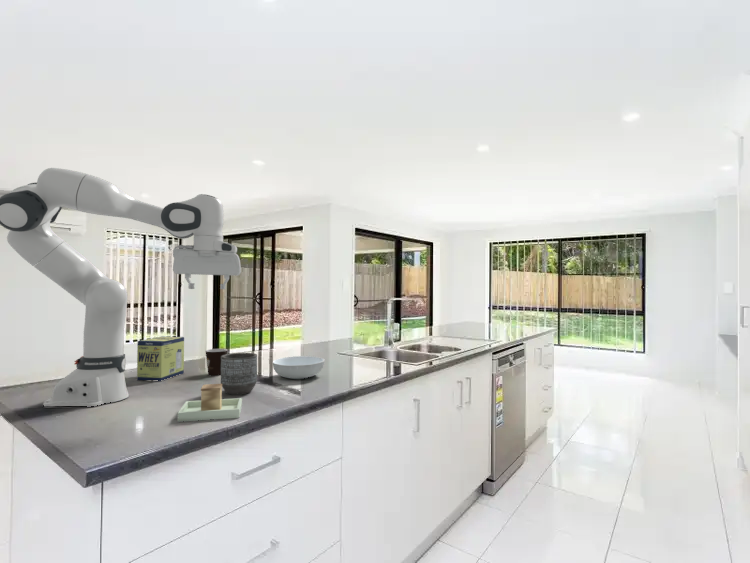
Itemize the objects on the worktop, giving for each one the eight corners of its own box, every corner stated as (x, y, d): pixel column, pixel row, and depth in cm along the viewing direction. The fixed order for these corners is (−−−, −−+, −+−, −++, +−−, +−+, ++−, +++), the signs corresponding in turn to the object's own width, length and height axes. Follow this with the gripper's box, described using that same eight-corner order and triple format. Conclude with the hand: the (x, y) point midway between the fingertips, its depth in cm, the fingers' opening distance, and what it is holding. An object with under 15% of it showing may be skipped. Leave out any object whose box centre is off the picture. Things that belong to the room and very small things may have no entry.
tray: (177, 421, 113) (177, 413, 113) (186, 409, 125) (186, 401, 125) (239, 417, 117) (239, 409, 117) (241, 405, 129) (242, 398, 129)
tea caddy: (200, 413, 118) (200, 388, 118) (203, 408, 123) (203, 384, 123) (220, 412, 119) (220, 387, 119) (222, 407, 124) (222, 383, 124)
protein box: (136, 380, 162) (136, 340, 162) (161, 372, 177) (162, 336, 178) (161, 381, 161) (161, 341, 161) (184, 373, 176) (184, 336, 176)
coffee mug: (206, 372, 177) (206, 349, 178) (227, 371, 180) (227, 348, 180) (203, 378, 166) (203, 353, 167) (226, 377, 169) (226, 352, 169)
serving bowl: (280, 371, 182) (280, 355, 182) (327, 372, 181) (328, 356, 181) (265, 382, 161) (265, 364, 161) (319, 383, 160) (319, 365, 160)
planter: (261, 387, 152) (261, 352, 152) (251, 396, 140) (251, 358, 140) (227, 387, 152) (228, 352, 152) (214, 396, 140) (215, 358, 140)
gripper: (170, 243, 128) (169, 288, 128) (240, 246, 133) (239, 289, 133) (175, 245, 135) (174, 288, 134) (241, 248, 140) (240, 289, 139)
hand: (207, 289), depth 134 cm, fingers open, 8 cm apart
